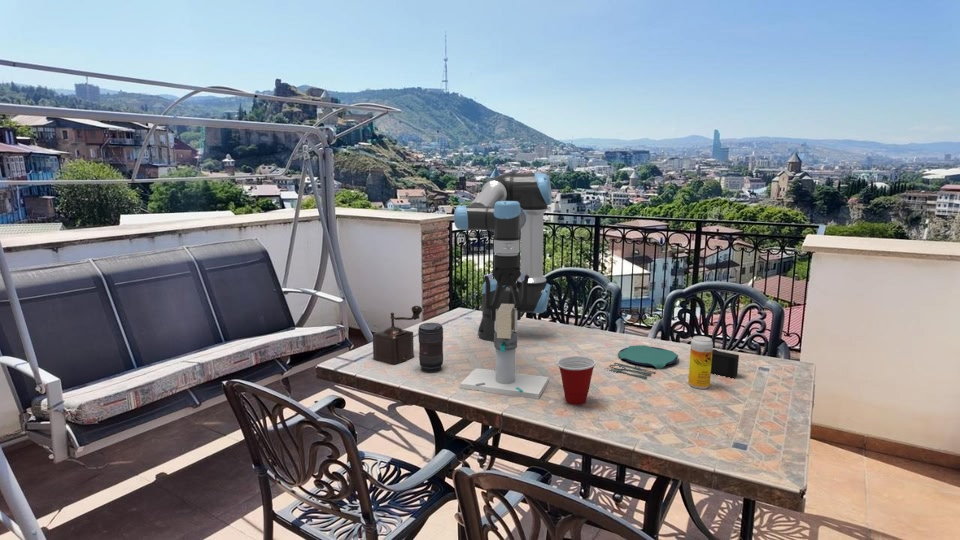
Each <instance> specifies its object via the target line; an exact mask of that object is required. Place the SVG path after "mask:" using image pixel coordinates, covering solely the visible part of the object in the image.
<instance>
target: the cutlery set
mask: <svg viewBox="0 0 960 540" xmlns="http://www.w3.org/2000/svg"><path fill="white" fill-rule="evenodd" d="M617 356H618V358H619V359H620V360H622V361H623V360H625V361H626V362H628V363H633V364H636V365H640V366H650V367H655V369H657V370H660V369H661V370H662V369H663V368H664V367H665V366H667V365H671V364H674V363H676V362H677V361H678V359H679V355H678V354H677V352H674V351H673V350H669V349H665V348H661V347H656V346H649V345H645V344H644V345H643V344H642V345H641V344H640V345H637V344H636V345H630V346H629V345H628V347H625V348H622V349H620V350H619V351H618V352H617ZM616 364H618V365H616ZM611 366H612V367H611ZM615 366H619V367H617V368H616V367H615ZM640 366H639V367H638V366H632V365H628V364H624V363H619V362H613V364H609V367H610V369H611V370H609V372H612V371H613V372H612V373H615V372H616V374H624V375H626V374H627V375H626V376H630V377H635V378H639V379H643V380H648V376H652V373H653V374H655V375H656V371H652V370H648V369H644V368H641V367H640ZM621 367H622V368H621ZM606 368H607V369H609V368H608V367H605V368H604V370H605V369H606ZM613 368H614V369H613ZM623 368H624V369H623ZM616 369H618V370H616ZM626 371H627V372H626ZM630 372H633V373H630ZM634 373H635V374H634ZM636 373H638V374H636ZM641 374H642V375H641Z"/></svg>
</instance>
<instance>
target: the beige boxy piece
mask: <svg viewBox="0 0 960 540" xmlns="http://www.w3.org/2000/svg"><path fill="white" fill-rule="evenodd" d="M514 306H515V304H501V306H500V307H499V309H498V311H497V332H495V333H494V341H493V348H495V349H496V348H497V349H500V352H505V350H512V349H515V348H516V349H517V348H518V331H517V332H514V330H513V309H514Z"/></svg>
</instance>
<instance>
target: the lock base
mask: <svg viewBox="0 0 960 540" xmlns="http://www.w3.org/2000/svg"><path fill="white" fill-rule="evenodd" d="M516 349H517V348H515V349H512V350H505V352H500V349H497V348H495V370H494V369H487V368H486V369H485V368H478V367H476V368H474V370H473V371H471V372H470V374H468V375H467V377H465V378H464V379H463V380H462V381H461V382H460V384H459V385H460V387H459V389H462V388H465V389H464V390H469V389H472V390H471V391H477V390H479V391H478V392H484V391H485V393H491V394H499V395H505V396H507V395H508V396H512V397H513V396H515V397H521V398H527V399H528V398H529V399H535V400H536V399H537V400H539V399H540V397H541V396H542V394H543V393H544V390H545V389H546V388H547V385H548V384H549V381H550V377H549V376H544V375H543V376H542V375H534V374H525V373H517V372H516V355H517V353H516V352H517V351H516Z"/></svg>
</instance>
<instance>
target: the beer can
mask: <svg viewBox="0 0 960 540" xmlns="http://www.w3.org/2000/svg"><path fill="white" fill-rule="evenodd" d="M713 347H714V343H713V340H712V338H711V337H708V336H704V335H703V336H702V335H695V336H693V337H692V339H691V340H690V352H689V353H690V355H689V364H688V368H689V369H688V379H687V380H688V381H687V382H688V384H689V386H690V387H692V388H693V389H698V390H705V389H708V388H709V387H710V385H711V376H712V374H711V364H712V351H713V349H714V348H713Z"/></svg>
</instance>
